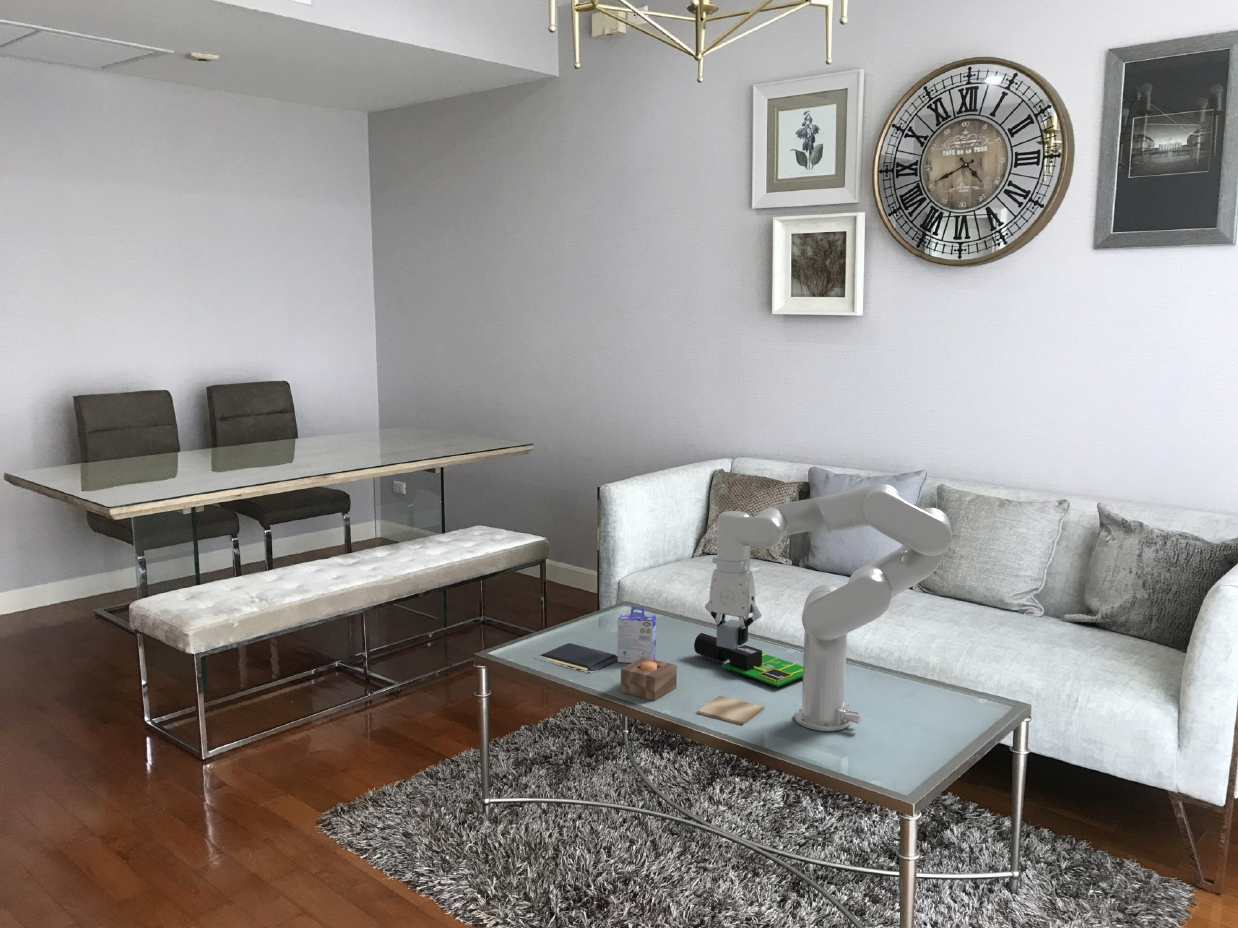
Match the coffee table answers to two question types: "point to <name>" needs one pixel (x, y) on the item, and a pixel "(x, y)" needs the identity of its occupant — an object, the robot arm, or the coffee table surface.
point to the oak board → (731, 710)
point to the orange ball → (648, 666)
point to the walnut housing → (649, 679)
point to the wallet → (581, 657)
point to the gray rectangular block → (728, 634)
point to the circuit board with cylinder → (748, 661)
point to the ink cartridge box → (636, 636)
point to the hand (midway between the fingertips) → (732, 640)
